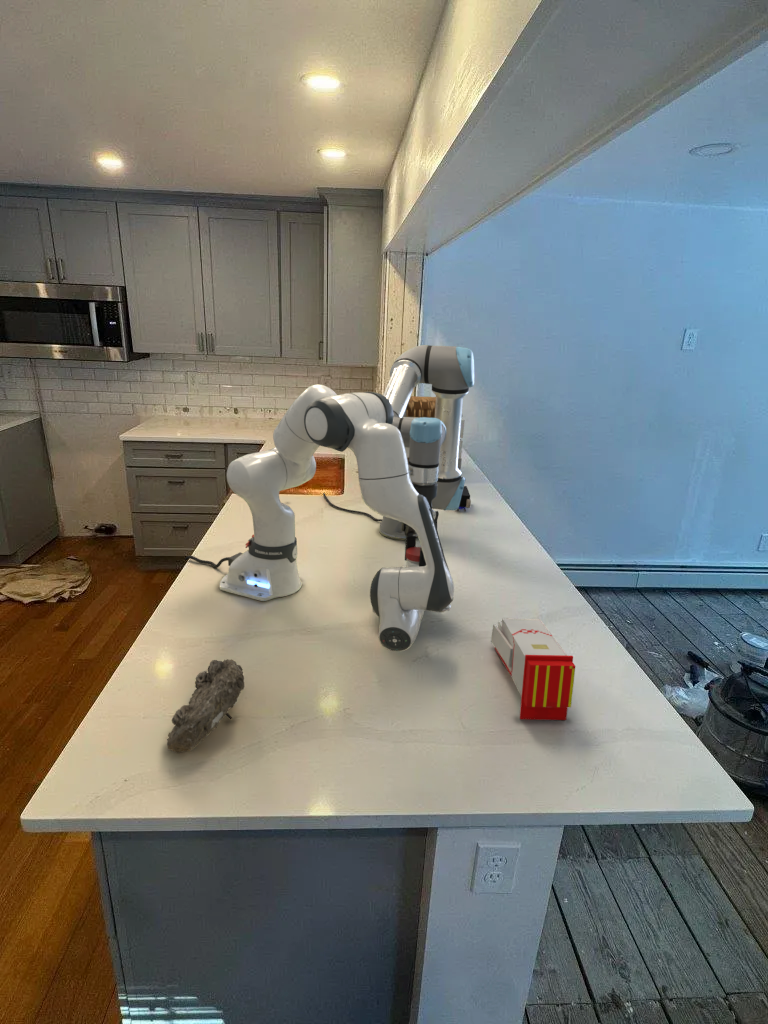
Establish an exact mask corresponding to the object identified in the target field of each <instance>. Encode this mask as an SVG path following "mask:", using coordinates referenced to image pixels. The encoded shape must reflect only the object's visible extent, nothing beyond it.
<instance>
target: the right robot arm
mask: <svg viewBox="0 0 768 1024" xmlns="http://www.w3.org/2000/svg"><path fill="white" fill-rule="evenodd" d="M419 384H425V385H431V392H432V393H433V394H434V395H435V397H436V405H435V418H427V417H421V418H415V419H411V418H403V416H404V413H405V410H406V407H407V405H408V402H409V399H410V397H411V396H412V394H413V392H414V389H415V388H416V387H417V386H418V385H419ZM474 386H475V358H474V352H473V350H472V349H471V348H468V347H464V346H459V345H457V346H455V345H430V344H422V345H420V344H419V345H417V346H413V347H411V348H409V349H407V350H406V351H404V352H402V354H400V355H399V356H397V358H396V359H395V360H394V362H393V363H392V365H391V367H390V370H389V380H388V382H387V384H386V387H385V390H384V391H383V394H382V395H383V396H385V397H386V398H387V399H388V400H389V401H390V403H391V405H392V408H393V414H394V418H393V423H392V425H393V426H395V427H397V428H398V429H399V431H400V433H401V435H402V439H403V442H404V446H405V447H408V448H409V474H410V479H411V482H412V484H413V486H414V488H415V490H416V491H417V492H418V493H419V494H420V495H422V496H425V498H426V499H427V501H428V503H429V505H430V508H431V511H432V514H433V517H434V521H435V524H436V527H437V528H438V520H439V515H440V514H439V513H440V512H439V511H438V510H442V511H453V512H454V511H457V509H458V508H459V504H460V500H461V496H462V492H463V488H464V486H465V483H466V478H465V477H464V476H462V470H461V471H460V470H459V468H458V454H459V442H460V439H461V438H460V430H461V418H463V403H464V397H465V396H466V395H467V394H468V393H469V392H470V391H469V389H470V388H473V387H474ZM322 495H323V497H324V499H325V501H326V502H327V503H328V504H329V505H330V506H331V507H332V508H335V509H338V510H340V511H344V512H348V513H353V514H361V515H365V516H367V517H368V518H370V519H371V520H373V521H375V522H379V527H378V533H379V534H380V535H381V536H382V537H385V538H387V539H389V540H395V541H405V545H404V561H405V562H406V560H407V558H406V550H407V549H408V548H410V547H417V539H419V537H418V535H417V533H416V531H415V530H414V529H413V528H412V527H410V526H409V525H407V524H405V523H403V522H400V521H397V520H394V519H391V518H388V517H385V516H382V518H376V517H374V516H373V515H372V514H370V513H368V512H365V511H359V510H353V509H348V508H345V507H340V506H337V505H335V504H334V503H332V502H331V501H330V500H329V499H328V497H327V495H326V493H325V492H322ZM420 566H426V562H425V558H424V555H423V551H422V548H420V559H419V567H420Z"/></svg>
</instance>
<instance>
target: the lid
mask: <svg viewBox="0 0 768 1024" xmlns="http://www.w3.org/2000/svg"><path fill="white" fill-rule="evenodd" d="M420 548H421V546H416V547H410V548H408V549H407V550H406V558H407V559H408V560H411V561H415V562H419V559H420Z"/></svg>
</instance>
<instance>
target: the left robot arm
mask: <svg viewBox="0 0 768 1024" xmlns="http://www.w3.org/2000/svg"><path fill="white" fill-rule="evenodd" d="M393 418H394V414H393V408H392V405H391V403H390V401H389V400H388V399H387V398H386V397H385V396H383V394H381V393H379V392H374V391H364V392H360V391H359V392H346V393H341V394H337V393H336V392H335V391H334V390H333V389H332V388H330V387H329V386H326V385H325V384H311V385H310V386H308V387H307V388H306V389H304V391H303V392H301V393H300V394H299V395H298V396H297V397H296V398H295V400H294V401H293V402H292V403H291V405H290V406H289V407H288V409H287V410H286V411H285V413H284V414H283V416H282V417H281V419H280V421H279V422H278V424H277V425H276V426H275V428H274V430H273V432H272V439H273V440H272V441H273V445H274V447H273V448H271V449H268V450H263V451H257V452H253V453H247V454H245V455H242V456H240V457H238V458H236V459H234V460H232V461H231V462H230V463H229V464H228V467H227V470H226V482H227V484H228V487H229V489H230V490H231V491H232V492H233V493H234V494H235V495H236V496H238V497H239V498H241V499H242V500H243V501H244V502H245V503H246V504H247V505H248V507H249V510H250V513H251V515H252V525H253V526H252V527H253V534H252V535H251V538H249V539H248V540H247V542H246V543H245V549H247V548H248V549H247V550H246V551H244V552H237V553H236V554H233V555H231V556H227V557H223V558H221V559H220V560H219V561H218V562H217V564H216V563H214V562H213V561H210V560H203V559H200V558H198V557H196V556H194V555H187V556H186V557H185V558H184V560H185V561H187V560H190V559H191V560H193V561H195V562H197V563H200V564H205V565H209V566H212V567H213V568H214V569H215V568H216V569H218V568H219V567H221V565H223V562H228V563H227V564H228V565H227V566H229V567H228V570H227V573H226V574H225V575H224V576H223V577H222V578H221V579H220V581H219V590H220V591H223V592H227V593H230V594H233V595H234V594H235V595H238V596H241V597H246V598H249V599H253V600H256V601H261V602H267V601H270V600H272V599H277V598H281V597H287V596H290V595H293V594H295V593H297V592H298V591H299V590H300V589H301V587H302V584H303V583H302V580H301V577H300V573H299V569H298V562H297V558H298V540H297V537H296V514H295V511H294V510H293V509H292V508H291V507H290V506H289V505H288V504H286V503H283V502H281V498H280V492H281V491H285V490H289V489H293V488H296V487H299V486H301V485H304V484H305V483H307V482H308V481H311V480H312V479H313V478H314V476H315V474H316V472H317V462H316V459H315V456H314V455H315V453H316V452H317V450H318V449H319V448H320V447H324V448H328V449H331V450H335V451H337V452H340V453H342V452H344V451H346V450H347V449H349V450H351V452H352V453H353V454H354V456H355V459H356V464H357V465H356V466H357V474H358V475H357V476H358V483H359V485H358V486H359V490H360V494H361V498H362V500H363V502H364V504H365V505H366V506H367V507H368V508H369V509H370V510H371V511H373V512H374V513H376V514H377V515H380V516H381V517H383V516H385V517H388V518H391V519H394V520H397V521H400V522H403V523H405V524H407V525H409V526H410V527H412V528H413V529H414V530H415V531H416V533H417V535H418V540H419V544H420V547H421V548H422V551H423V555H424V558H425V562H426V566H420V567H406V566H386V567H381V568H380V569H379V570H377V572H376V573H375V575H374V576H373V578H372V580H371V584H370V587H369V588H370V589H369V599H370V605H371V607H372V613H374V614H375V615H376V616H377V617H378V618H379V627H378V641H379V643H380V644H381V645H382V646H383V648H386V649H387V650H390V651H393V652H403V651H406V650H408V649H409V648H410V647H411V646H412V645H413V644H414V642H415V641H416V639H417V636H418V634H419V631H420V628H421V622H422V620H423V618H424V614H425V612H426V611H427V612H432V613H444V612H446V611H448V612H449V611H450V610H451V607H452V604H451V603H453V601H454V598H455V597H454V596H455V584H454V583H455V582H454V580H453V577H452V574H451V572H450V569H449V566H448V563H447V560H446V557H445V553H444V549H443V546H442V542H441V537H440V535H439V530H438V526H437V527H436V524H435V521H434V517H433V514H432V511H431V508H430V505H429V503H428V501H427V499H426V498H425V496H422V495H420V494H419V493H418V492H417V491H416V490H415V488H414V486H413V484H412V482H411V479H410V474H409V466H408V460H407V454H406V450H405V446H404V442H403V439H402V435H401V433H400V431H399V429H398V428H397V427H395V426H393V425H392V423H393Z"/></svg>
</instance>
